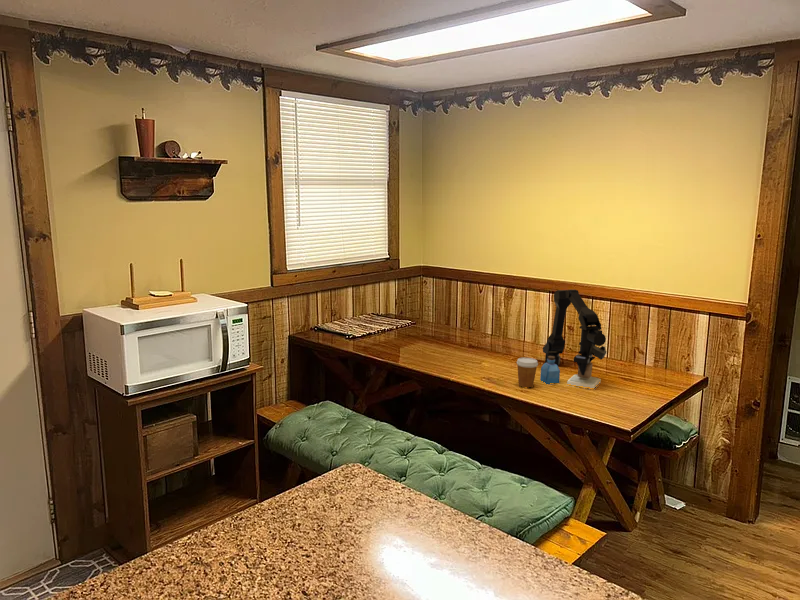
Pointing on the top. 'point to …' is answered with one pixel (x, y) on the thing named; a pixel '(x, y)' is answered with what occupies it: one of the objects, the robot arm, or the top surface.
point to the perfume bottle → (550, 371)
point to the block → (587, 372)
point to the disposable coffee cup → (526, 371)
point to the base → (584, 381)
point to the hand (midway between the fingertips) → (584, 373)
